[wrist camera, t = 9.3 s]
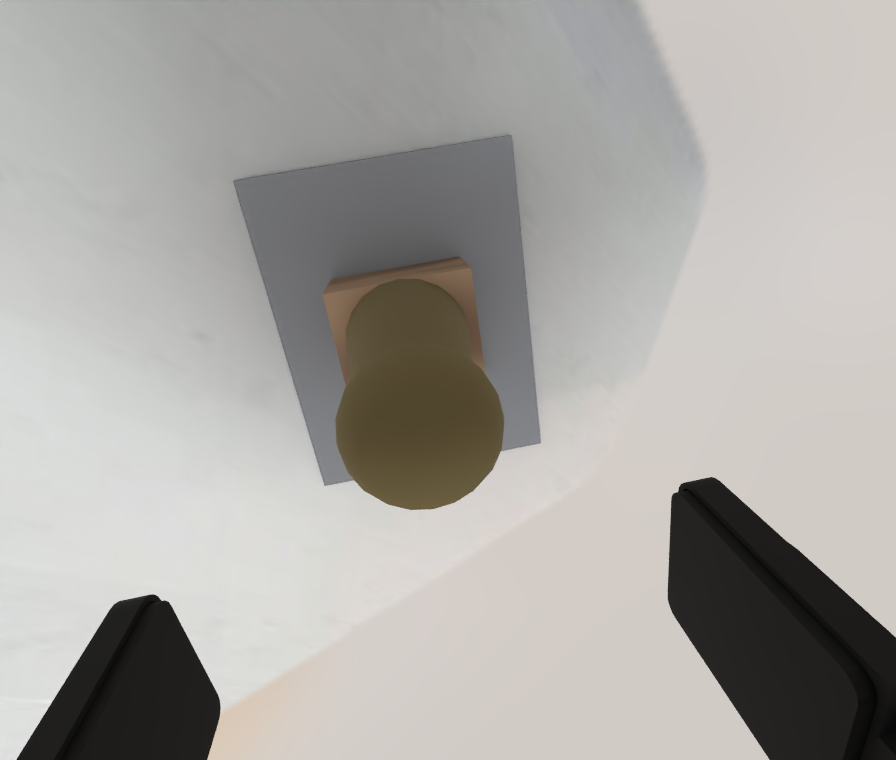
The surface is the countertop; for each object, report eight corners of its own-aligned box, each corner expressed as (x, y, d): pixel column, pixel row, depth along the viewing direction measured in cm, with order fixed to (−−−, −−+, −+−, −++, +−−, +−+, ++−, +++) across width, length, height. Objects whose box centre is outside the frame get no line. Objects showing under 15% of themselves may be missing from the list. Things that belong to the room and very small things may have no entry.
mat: (235, 181, 24) (233, 180, 24) (509, 135, 25) (511, 134, 25) (325, 482, 31) (324, 485, 31) (538, 440, 32) (540, 443, 31)
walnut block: (331, 279, 26) (322, 294, 23) (459, 256, 27) (471, 267, 23) (360, 396, 29) (356, 427, 25) (476, 374, 29) (489, 401, 26)
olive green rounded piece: (354, 267, 22) (327, 333, 12) (482, 290, 23) (555, 370, 13) (337, 388, 24) (302, 533, 14) (455, 405, 25) (502, 550, 15)
